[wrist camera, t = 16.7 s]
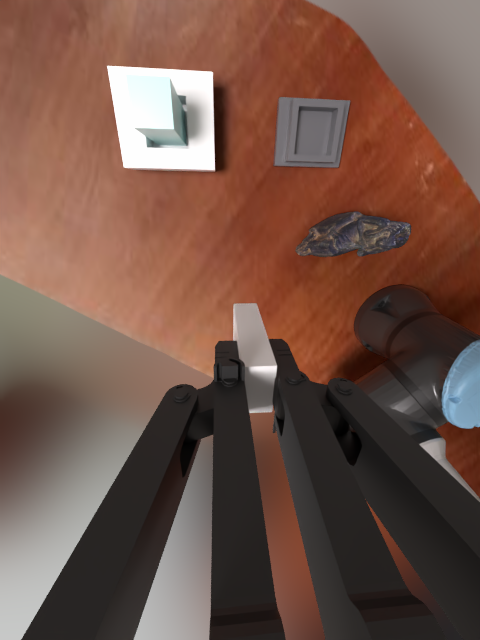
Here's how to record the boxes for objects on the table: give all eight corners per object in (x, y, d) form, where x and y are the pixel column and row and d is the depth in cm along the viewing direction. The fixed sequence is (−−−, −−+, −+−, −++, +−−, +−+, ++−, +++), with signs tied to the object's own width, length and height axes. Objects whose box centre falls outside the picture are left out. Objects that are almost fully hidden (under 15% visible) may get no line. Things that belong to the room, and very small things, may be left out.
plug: (184, 110, 35) (169, 77, 24) (186, 146, 36) (173, 129, 26) (154, 109, 34) (125, 74, 24) (158, 145, 36) (133, 127, 26)
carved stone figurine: (287, 236, 44) (317, 257, 31) (352, 200, 43) (413, 207, 29) (299, 264, 47) (331, 294, 34) (361, 231, 45) (421, 249, 32)
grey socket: (346, 102, 36) (357, 96, 34) (336, 167, 40) (344, 166, 37) (278, 99, 36) (282, 92, 33) (273, 166, 39) (277, 164, 37)
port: (213, 86, 34) (212, 71, 30) (215, 171, 39) (214, 169, 35) (121, 81, 34) (107, 65, 29) (134, 169, 38) (123, 167, 34)
